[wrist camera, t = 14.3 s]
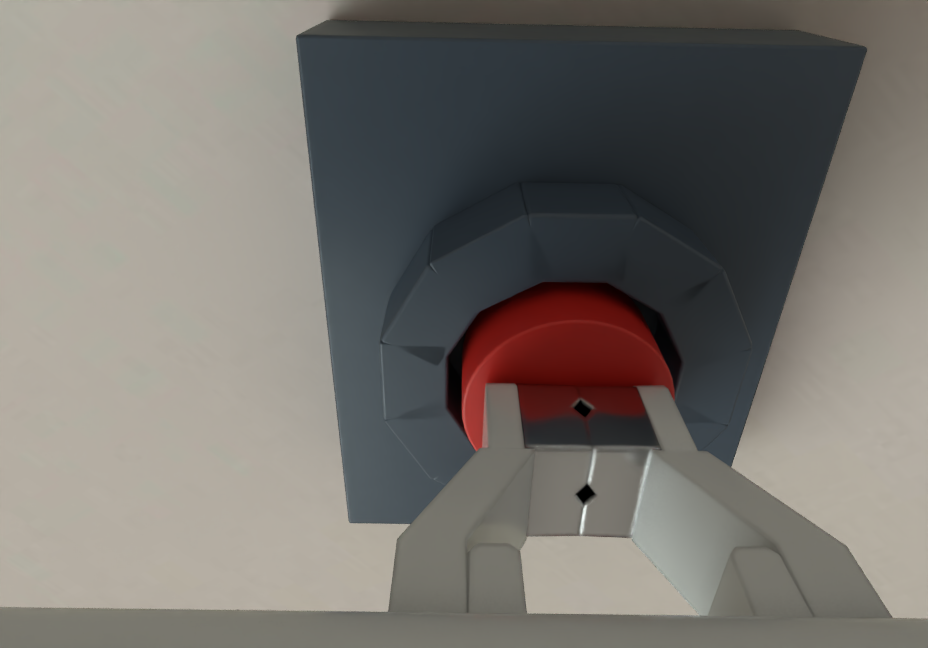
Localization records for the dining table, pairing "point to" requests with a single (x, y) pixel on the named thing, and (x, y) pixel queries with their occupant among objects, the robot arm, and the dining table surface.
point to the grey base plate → (553, 209)
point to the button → (558, 344)
